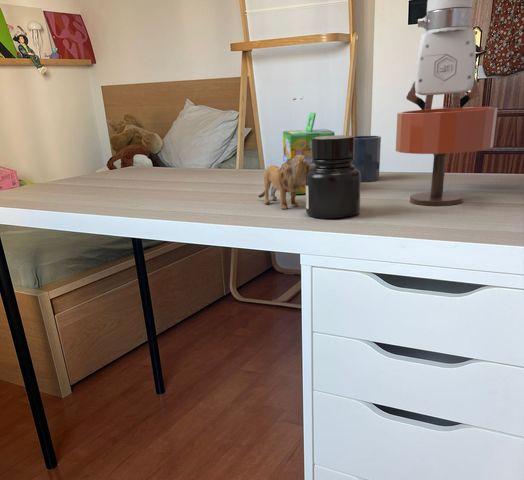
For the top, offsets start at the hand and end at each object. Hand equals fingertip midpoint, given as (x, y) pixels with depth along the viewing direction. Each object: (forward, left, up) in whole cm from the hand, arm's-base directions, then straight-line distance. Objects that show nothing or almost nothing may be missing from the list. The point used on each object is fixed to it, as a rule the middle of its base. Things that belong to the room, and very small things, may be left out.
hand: (439, 134), depth 101 cm
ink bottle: (+17, +24, -10) cm, 31 cm away
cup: (+15, -13, -10) cm, 23 cm away
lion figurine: (+27, +16, -10) cm, 33 cm away
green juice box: (+25, +1, -10) cm, 27 cm away
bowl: (0, +9, -1) cm, 9 cm away
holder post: (0, +13, -10) cm, 16 cm away
